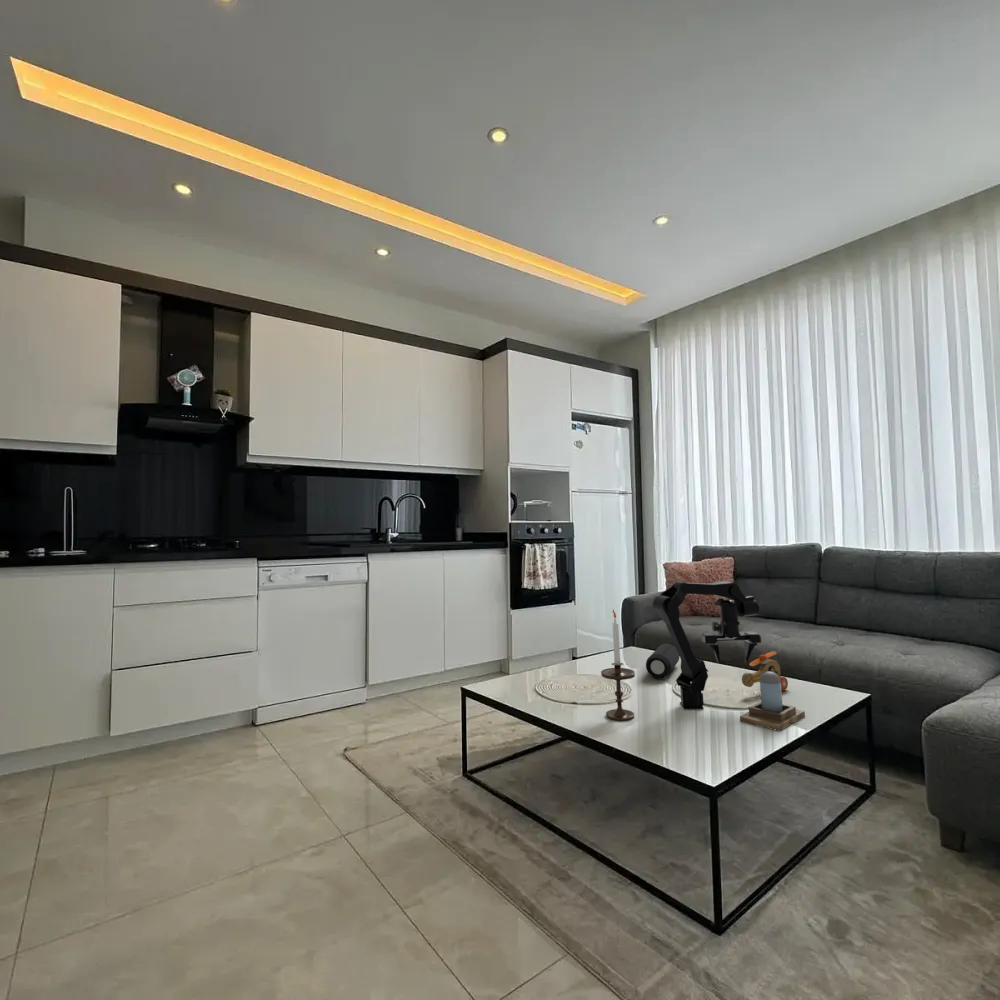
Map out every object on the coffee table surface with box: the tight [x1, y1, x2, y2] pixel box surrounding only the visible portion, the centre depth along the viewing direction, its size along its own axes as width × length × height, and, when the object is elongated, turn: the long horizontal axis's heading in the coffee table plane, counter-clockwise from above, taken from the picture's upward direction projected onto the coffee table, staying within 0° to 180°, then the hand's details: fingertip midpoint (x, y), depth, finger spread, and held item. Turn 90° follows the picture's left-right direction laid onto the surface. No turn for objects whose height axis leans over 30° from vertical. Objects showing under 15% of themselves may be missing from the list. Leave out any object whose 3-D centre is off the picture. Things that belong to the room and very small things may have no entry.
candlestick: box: [600, 608, 636, 722], centre depth 183 cm, size 11×11×35 cm
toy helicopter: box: [741, 650, 789, 692], centre depth 201 cm, size 8×21×14 cm, turn 122°
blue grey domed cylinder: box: [759, 671, 783, 713], centre depth 175 cm, size 6×6×13 cm
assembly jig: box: [739, 701, 806, 731], centre depth 175 cm, size 18×12×4 cm, turn 129°
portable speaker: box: [645, 643, 680, 680], centre depth 232 cm, size 26×10×10 cm, turn 153°
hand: (732, 662), depth 194 cm, fingers open, 9 cm apart
